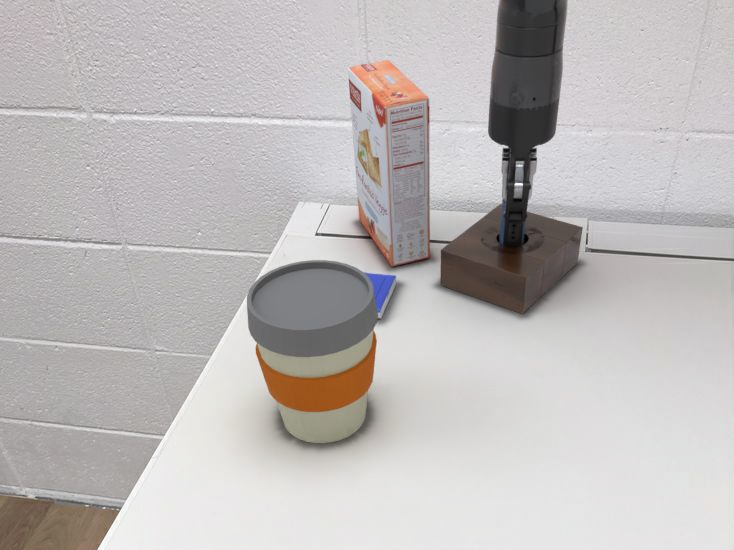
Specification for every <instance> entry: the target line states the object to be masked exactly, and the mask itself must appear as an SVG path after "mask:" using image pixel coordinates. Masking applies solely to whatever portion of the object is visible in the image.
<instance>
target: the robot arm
mask: <svg viewBox="0 0 734 550" xmlns="http://www.w3.org/2000/svg"><path fill="white" fill-rule="evenodd" d="M568 4H569V3H568V0H498V5H497V11H496V12H497V13H496V28H495V43H494V53H493V59H492V65H491V73H490V89H489V105H488V124H487V134H488V136H489V139H491V140H492V141H493V142H494V143H496V144H498V145H501V146H505V147H502V152H501V153H502V154H501V167H500V168H501V174H502V180H501V183H502V186H501V198H502V199H504V200H505V201H506V202H505V211H504V213H503V216H504V217H503V218H504V219H505V226H504V238H503V245H504V246H505V247H520V246H521V244H522V233H523V223H524V221H526V218H527V212H528V205H529V200H530V199H532V194H533V186H534V185H533V184H534V176H535V175H536V172H537V168H538V167H537V165H538V157H537V154H538V153H537V152H538V148H537V146H542V145H544V144H545V145H546V144H547V143H549V142H550V141H552V139H554V137H555V134H556V132H557V125H558V124H557V123H558V115H559V106H560V98H561V89H562V80H563V72H564V70H563V69H564V55H563V54H564V41H565V33H566V25H567V18H568V17H567V16H568Z"/></svg>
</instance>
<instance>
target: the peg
mask: <svg viewBox="0 0 734 550" xmlns="http://www.w3.org/2000/svg"><path fill="white" fill-rule="evenodd" d="M505 202H506V201H505V200H504V199H503V198H502V200H501V204H502V211H501V224H500V238H499V243H500V244H501V245H503V238H504V226H505V219H504V218H503V217H504V216H503V213H504V211H505ZM525 223H526V221H524V223H523V233H522V244H521V245H523V243H524V233H525Z"/></svg>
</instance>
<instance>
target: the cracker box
mask: <svg viewBox="0 0 734 550" xmlns="http://www.w3.org/2000/svg"><path fill="white" fill-rule="evenodd" d="M347 75H348V85H349V86H348V87H349V101H350V115H351V127H352V142H353V155H354V169H355V181H356V194H357V209H358V220H359V222H360V223H361V224H362V226H363V227H364V229H365V230H366V232H367V233H368V234H369V236H370V237H371V239H372V240H373V242H374V243H375V245H376V246H377V247H378V249H379V250H380V252H381V253H382V255H383V256H384V258H385V259H386V261H387V262H388V264H389V265H390V267H391V268H393V267H397V266H400V265H401V266H402V265H405V264H409V263H413V262H418V261H422V260H426V259H429V258H431V217H430V216H431V214H430V213H431V210H430V209H431V205H430V203H431V200H430V198H431V194H430V193H431V191H430V189H431V185H430V184H431V181H430V180H431V178H430V176H431V175H430V173H431V172H430V170H431V169H430V168H431V167H430V163H431V162H430V161H431V160H430V108H431V107H430V98H429V96H428V95H426V94H425V93H424V92H423V91H422V90H421V89H420V87H418V86H417V85H416V84H415V83H414V82H413V81H412V80H411V79H410V78H409V77H408V76H406V74H405V73H403V72H402V71H401V70H400V68H398V67H397V66H396V65H395V64H393V62H392V61H391V60H389V59H386V60H380V61H377V62H376V61H375V62H372V63H363V64H362V63H361V64H358V65H357V64H356V65H353V66H349V67H348V68H347Z"/></svg>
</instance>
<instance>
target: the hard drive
mask: <svg viewBox="0 0 734 550" xmlns="http://www.w3.org/2000/svg"><path fill="white" fill-rule="evenodd" d="M364 273H365V274H366V275H367V276H368V277H369V278H370V280H371V282H372V284H373V289H374V295H375V300H376V306H377V312H378V318H377V319H380V320H381V319H382V317H383V315H384V313H385V311H386V308H387V306H388V304H389V301H390V300H391V297H392V295H393V292H394V290H395V289H396V285H397V275H395V274H382V273H372V272H364Z"/></svg>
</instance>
